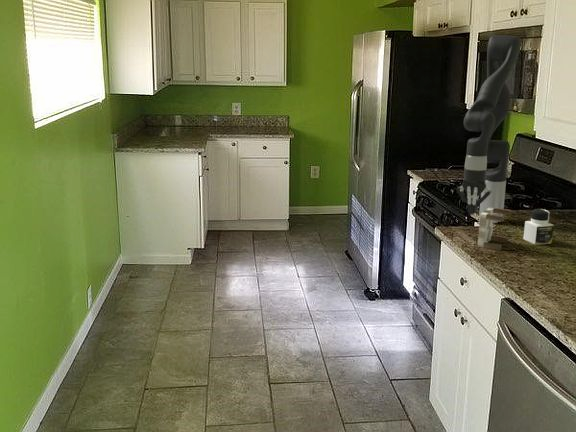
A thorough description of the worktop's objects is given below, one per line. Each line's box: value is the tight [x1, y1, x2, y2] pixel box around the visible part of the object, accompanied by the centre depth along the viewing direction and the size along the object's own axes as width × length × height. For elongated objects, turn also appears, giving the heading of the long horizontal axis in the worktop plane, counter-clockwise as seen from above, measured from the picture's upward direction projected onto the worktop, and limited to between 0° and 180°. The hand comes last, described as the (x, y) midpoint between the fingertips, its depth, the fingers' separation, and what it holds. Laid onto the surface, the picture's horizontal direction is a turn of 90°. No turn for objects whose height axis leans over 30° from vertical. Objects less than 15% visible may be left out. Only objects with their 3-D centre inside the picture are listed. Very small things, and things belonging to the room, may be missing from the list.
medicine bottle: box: [523, 208, 554, 246], centre depth 223 cm, size 7×7×12 cm
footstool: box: [477, 207, 512, 251], centre depth 220 cm, size 12×8×12 cm, turn 148°
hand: (471, 214), depth 223 cm, fingers closed
